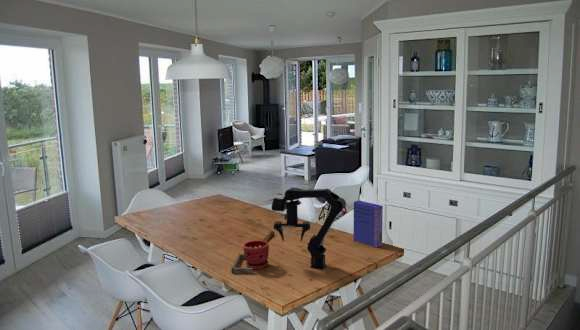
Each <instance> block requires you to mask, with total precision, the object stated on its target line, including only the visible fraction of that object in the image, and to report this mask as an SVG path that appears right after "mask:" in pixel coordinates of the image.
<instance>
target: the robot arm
mask: <svg viewBox="0 0 580 330" xmlns="http://www.w3.org/2000/svg"><path fill="white" fill-rule="evenodd" d="M310 198H311V199H312V198H313V199H315V198H318V199H319V198H323V199H324V200H325V202H326V203H327V204H328V205H329V206H330V209H329V212H328V215H327V217H326V219H325V220H324V222H323V223H322V226H321V227H320V228H319V231H318V232H317V234H314V235H312V236H311V237H310V239H309V242H308V243H307V247H306V249H307V251H308V252H309V254H310V268H312V269H318V270H323V269H324V268H325V267H327V264H326V254H325V253H326V252H327V248H326V247H324V245H323V244H324V241H325V237H326V235H327V233H328V232H329V230H330V229H331V227H332V225H333V224H334V222H335V220H336V218H337V217H338V215H340V214H341V212H342V211H344V209H345V207H346V206H347V202H346V199H344V198H343V197H340V196H339V195H338V194H337V193H335V192H333V190H331V189H330V188H315V189H304V188H303V189H302V188H299V187H290V188H288V189H287V190H286V191H285V193H284V196H283V197H282V198H280V197H279V198H278V197H274V198H272V199H273V200H272V203H271V210H272V211H274V212H283V213H284V212H285V211H286V213H284V220H285V221H286V223H284V222H283V221H281V220H280V221H279V220H277V221H274V223H273V230H275V231H276V232H278V233H279V235H280V237H281V239H282V242H285V235H284V234H285V233H284V228H301V233H300V234H301V235H300V242H301V243H302V242H303V238H304V235H305V234H306V232H308V230H309V231H310V230H311V221H302V223H299V216H298V206H300V205H301V204H302V201H300V199H310Z"/></svg>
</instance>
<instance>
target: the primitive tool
mask: <svg viewBox="0 0 580 330" xmlns="http://www.w3.org/2000/svg"><path fill="white" fill-rule="evenodd" d="M275 234H276V232H275V231H273V230H269V232H268V234H266V236H265V237H264V238H263V239H261V240H260V241H266V242H268V243H269V241H270V240H271V238H272V237H274V236H275Z"/></svg>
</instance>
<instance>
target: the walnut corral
mask: <svg viewBox="0 0 580 330" xmlns="http://www.w3.org/2000/svg"><path fill="white" fill-rule="evenodd" d="M241 260H246V259H245V256H244V253H239V254H238V255H237V256H236V259H235V261H234V263H233V264H232V266H231V274H246V275H247V274H251V275H252V274H254V269H253V268H249V267H238V266H239V264H240V261H241Z"/></svg>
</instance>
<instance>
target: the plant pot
mask: <svg viewBox="0 0 580 330" xmlns="http://www.w3.org/2000/svg"><path fill="white" fill-rule="evenodd" d="M242 247H243V248H242V249H243V254H244V256H245V259H244V260H245V261H246V262H245V266H246V268H253V270H256V269H257V270H260V269H263V268H265V267H267V266H268V265H269V261H268V258H269V251H270V248H269V247H270V245H269V241H268V242H266V241H261V240H250V241H246V242H244V244H243V246H242Z"/></svg>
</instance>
